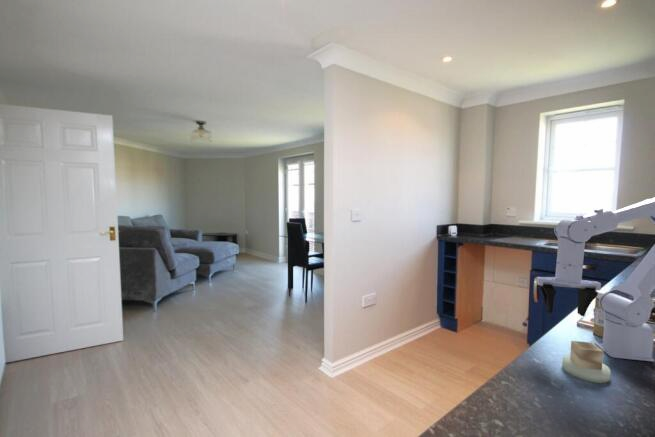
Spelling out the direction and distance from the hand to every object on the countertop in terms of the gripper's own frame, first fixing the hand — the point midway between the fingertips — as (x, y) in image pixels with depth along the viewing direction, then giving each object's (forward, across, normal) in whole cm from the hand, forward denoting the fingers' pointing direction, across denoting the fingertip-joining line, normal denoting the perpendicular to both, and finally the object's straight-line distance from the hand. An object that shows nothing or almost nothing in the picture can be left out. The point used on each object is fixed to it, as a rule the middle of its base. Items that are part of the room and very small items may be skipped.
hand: (564, 313), depth 89 cm
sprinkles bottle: (+10, +17, +14) cm, 24 cm away
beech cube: (+8, 0, -11) cm, 14 cm away
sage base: (+10, 0, -11) cm, 15 cm away
